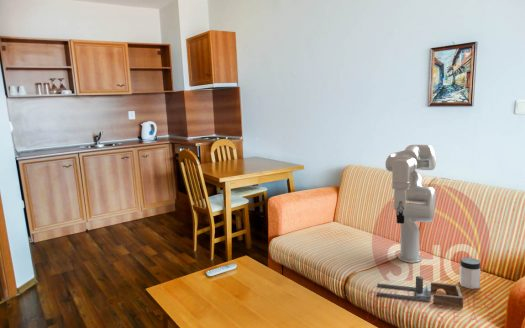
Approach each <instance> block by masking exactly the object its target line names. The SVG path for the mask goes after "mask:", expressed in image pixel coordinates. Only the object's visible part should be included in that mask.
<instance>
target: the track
mask: <svg viewBox="0 0 525 328" xmlns="http://www.w3.org/2000/svg"><path fill="white" fill-rule="evenodd" d="M376 285H377V287H378V288H387V289H396V290H404V291H405V290H406V291H412V292H414V291H415V292H416V286H415V287H414V286H405V285H397V284H386V283H377V284H376ZM423 289H426V287H425V288H424V287H423ZM376 296H378V297H386V298H395V299H400V300H401V299H403V300H410V301H411V300H412V301H418V302H427V303H429V302H431V300H430V298H424V297H417V296H414V295H413V296H412V295H405V294H397V293H388V292H378V291H376Z"/></svg>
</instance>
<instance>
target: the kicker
mask: <svg viewBox="0 0 525 328" xmlns="http://www.w3.org/2000/svg"><path fill="white" fill-rule="evenodd" d="M425 285H426V286H425V289H423V288H424V277H423V276H419V275H417V276H415V287H416V291H415V295H416V296H415V297H424V298H430V301H431V297H432V292H431V284H430V283H426V284H425Z"/></svg>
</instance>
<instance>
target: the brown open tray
mask: <svg viewBox="0 0 525 328" xmlns="http://www.w3.org/2000/svg"><path fill="white" fill-rule="evenodd" d="M438 289H443V290H444V291H445V292H446V295H441V294H436V291H437V290H438ZM430 290H431V293H433V292H434V293H433V299H432V300H433V302H432V303H433V305H442V306H450V307H457V306H462V307H461V308H463V306H464V296H463V294H462V291H461V289H460V286H459V285H458V284H454V283H452V284H451V283H442V282H441V283H440V282H432V281H431V282H430ZM448 294H450V295H448ZM451 294H452V295H451Z"/></svg>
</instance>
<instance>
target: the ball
mask: <svg viewBox="0 0 525 328" xmlns="http://www.w3.org/2000/svg"><path fill="white" fill-rule="evenodd" d="M435 294H441V295H447V293H446V292H445V291H444V290H443V289H438V290H437V291H436V292H435Z"/></svg>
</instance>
